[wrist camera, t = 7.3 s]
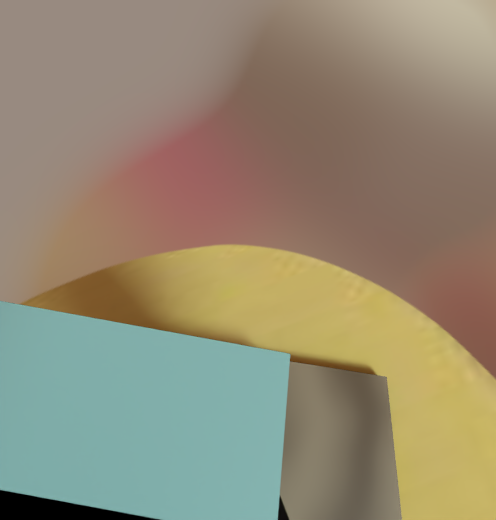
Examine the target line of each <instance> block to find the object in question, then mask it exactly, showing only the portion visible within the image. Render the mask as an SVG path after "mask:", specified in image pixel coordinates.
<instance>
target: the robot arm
mask: <svg viewBox="0 0 496 520" xmlns="http://www.w3.org/2000/svg"><path fill="white" fill-rule="evenodd" d="M278 520H290V519H289V517H288V514H287V512H286V509H285V506H284V504H283V501H282V499H281V496H279V509H278Z"/></svg>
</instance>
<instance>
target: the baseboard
mask: <svg viewBox="0 0 496 520" xmlns="http://www.w3.org/2000/svg"><path fill="white" fill-rule="evenodd" d="M280 496H281V499H282V501H283V504H284V506H285V509H286V512H287V514H288V517H289V519H290V520H402V517H401V508H400V498H399V489H398V479H397V470H396V461H395V451H394V442H393V432H392V423H391V414H390V404H389V395H388V385H387V377H384V376H378V375H372V374H366V373H359V372H353V371H347V370H341V369H334V368H328V367H322V366H316V365H310V364H303V363H297V362H291V361H290V365H289V378H288V391H287V404H286V417H285V430H284V444H283V457H282V470H281V483H280Z"/></svg>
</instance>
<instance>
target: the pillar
mask: <svg viewBox="0 0 496 520" xmlns="http://www.w3.org/2000/svg"><path fill="white" fill-rule="evenodd" d="M289 365H290V354H288V353H283V352H277V351H272V350H266V349H261V348H255V347H250V346H244V345H239V344H233V343H228V342H222V341H217V340H212V339H206V338H201V337H195V336H190V335H184V334H179V333H173V332H168V331H162V330H157V329H151V328H146V327H140V326H135V325H129V324H124V323H118V322H113V321H107V320H102V319H96V318H91V317H85V316H80V315H74V314H69V313H64V312H58V311H53V310H47V309H42V308H36V307H31V306H25V305H20V304H14V303H9V302H3V301H0V520H278V509H279V496H280V483H281V470H282V457H283V444H284V430H285V417H286V404H287V391H288V378H289Z"/></svg>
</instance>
